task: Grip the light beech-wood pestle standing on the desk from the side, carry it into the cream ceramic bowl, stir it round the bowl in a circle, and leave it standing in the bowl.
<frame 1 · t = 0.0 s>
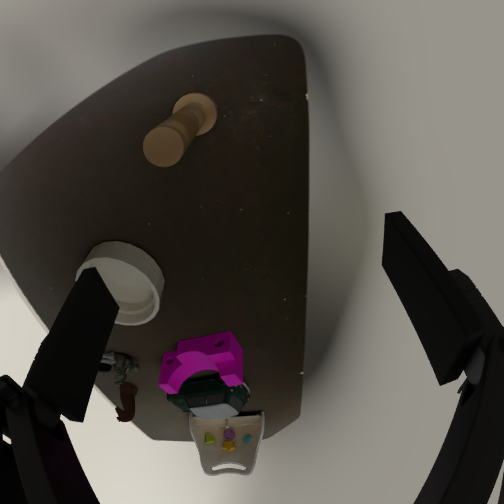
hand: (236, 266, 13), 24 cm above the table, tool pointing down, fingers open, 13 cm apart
bowl: (124, 275, 43), on the table
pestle: (196, 112, 30), on the table
zombie figurine: (109, 353, 56), on the table
miniature car: (208, 384, 62), on the table
chess piece: (130, 386, 64), on the table
shape sorter: (228, 416, 73), on the table
toy block: (199, 347, 54), on the table
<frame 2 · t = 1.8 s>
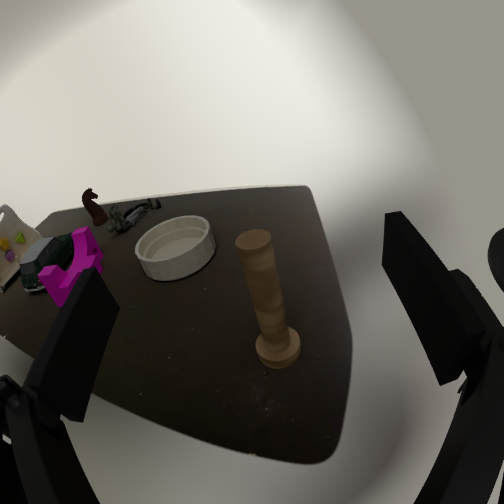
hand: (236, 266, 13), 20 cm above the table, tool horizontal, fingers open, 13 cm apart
bowl: (179, 257, 51), on the table
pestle: (279, 350, 32), on the table
zombie figurine: (134, 223, 68), on the table
miniature car: (55, 271, 58), on the table
chess piece: (101, 222, 74), on the table
shape sorter: (20, 269, 64), on the table
toy block: (86, 280, 52), on the table
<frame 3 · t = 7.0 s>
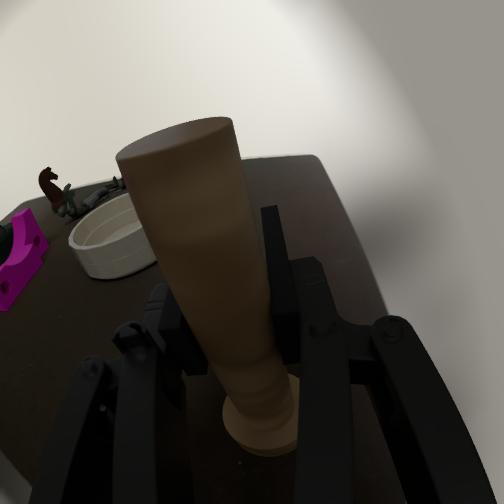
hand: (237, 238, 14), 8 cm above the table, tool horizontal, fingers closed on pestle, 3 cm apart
bowl: (132, 246, 34), on the table
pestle: (271, 418, 15), on the table, touching gripper
zombie figurine: (94, 206, 51), on the table
miniature car: (1, 266, 41), on the table
chess piece: (61, 208, 57), on the table
toy block: (23, 277, 35), on the table
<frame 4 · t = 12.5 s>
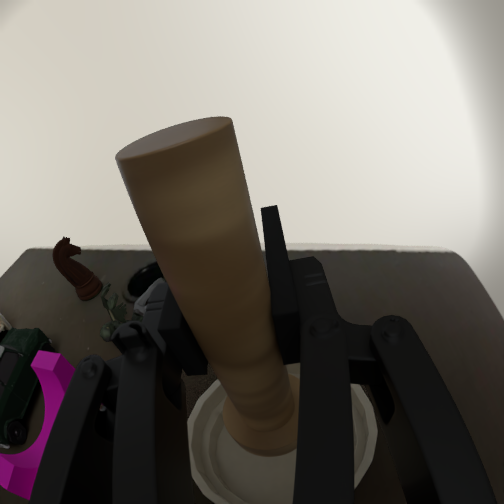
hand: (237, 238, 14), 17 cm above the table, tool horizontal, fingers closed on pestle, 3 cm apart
bowl: (284, 449, 20), on the table
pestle: (271, 418, 15), point 8 cm above the table, touching gripper
zombie figurine: (151, 311, 37), on the table
miniature car: (22, 395, 27), on the table
chess piece: (90, 293, 42), on the table
toy block: (78, 452, 21), on the table
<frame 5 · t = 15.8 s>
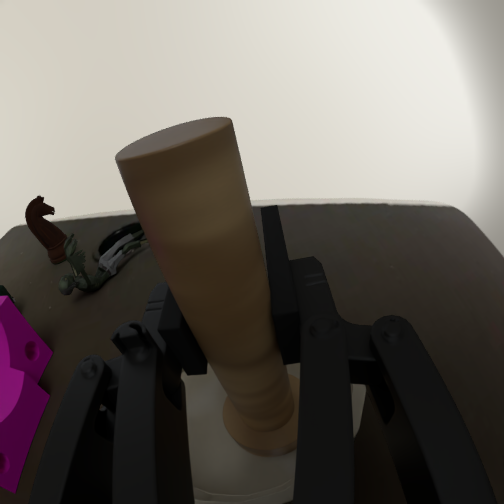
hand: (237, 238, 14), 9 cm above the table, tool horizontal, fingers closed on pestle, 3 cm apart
bowl: (244, 418, 16), on the table
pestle: (271, 419, 15), point 1 cm above the table, touching gripper
zombie figurine: (117, 268, 33), on the table
chess piece: (62, 257, 39), on the table
toy block: (21, 414, 17), on the table
when the fingers open (9 cm above the table, at t = 18.1 s): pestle stays where it is, resting on bowl.
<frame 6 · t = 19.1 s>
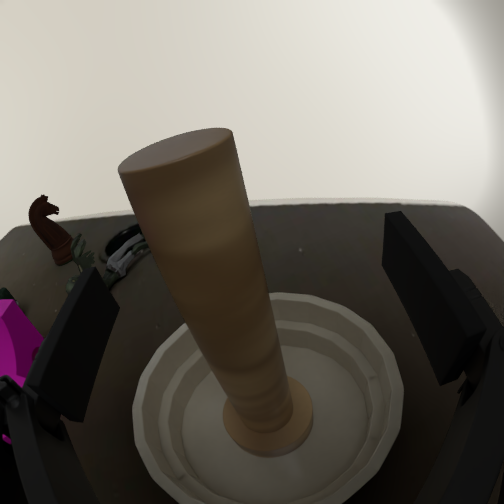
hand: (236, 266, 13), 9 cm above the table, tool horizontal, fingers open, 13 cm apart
bowl: (273, 423, 15), on the table
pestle: (271, 420, 15), point 1 cm above the table, touching bowl
zombie figurine: (126, 269, 32), on the table
chess piece: (67, 258, 38), on the table
toy block: (29, 424, 16), on the table
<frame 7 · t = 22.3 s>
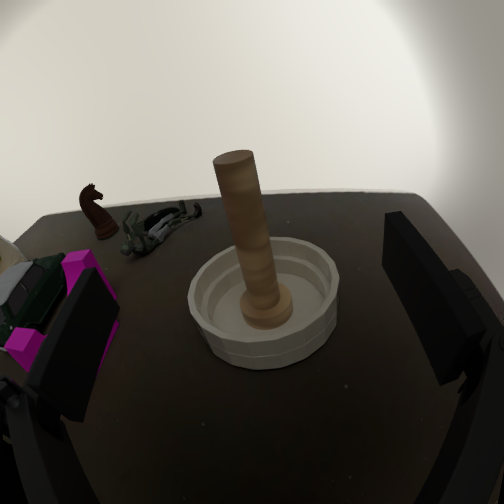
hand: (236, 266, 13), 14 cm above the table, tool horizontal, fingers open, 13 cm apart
bowl: (269, 314, 28), on the table
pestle: (267, 310, 28), point 1 cm above the table, touching bowl
zombie figurine: (162, 238, 45), on the table
miniature car: (39, 313, 35), on the table
chess piece: (107, 234, 51), on the table
toy block: (90, 343, 29), on the table
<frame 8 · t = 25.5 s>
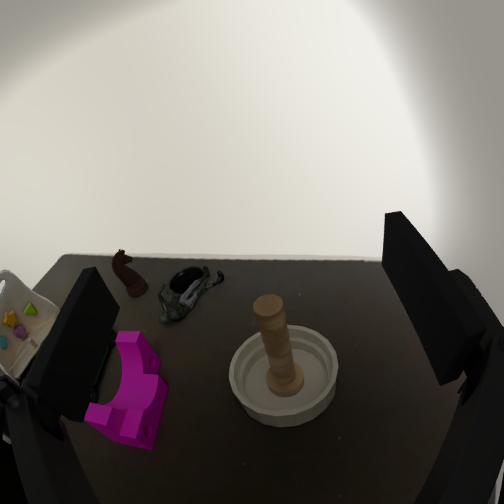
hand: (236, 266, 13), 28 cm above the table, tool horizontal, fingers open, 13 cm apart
bowl: (286, 383, 37), on the table
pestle: (285, 381, 36), point 1 cm above the table, touching bowl
zombie figurine: (191, 303, 53), on the table
miniature car: (88, 370, 44), on the table
chess piece: (137, 291, 59), on the table
shape sorter: (35, 348, 49), on the table
toy block: (146, 402, 37), on the table
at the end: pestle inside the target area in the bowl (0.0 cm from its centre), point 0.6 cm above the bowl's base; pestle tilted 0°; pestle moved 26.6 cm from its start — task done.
